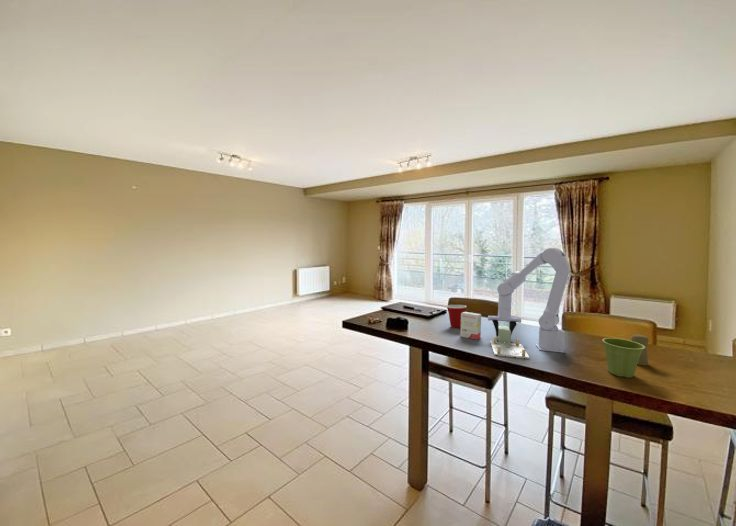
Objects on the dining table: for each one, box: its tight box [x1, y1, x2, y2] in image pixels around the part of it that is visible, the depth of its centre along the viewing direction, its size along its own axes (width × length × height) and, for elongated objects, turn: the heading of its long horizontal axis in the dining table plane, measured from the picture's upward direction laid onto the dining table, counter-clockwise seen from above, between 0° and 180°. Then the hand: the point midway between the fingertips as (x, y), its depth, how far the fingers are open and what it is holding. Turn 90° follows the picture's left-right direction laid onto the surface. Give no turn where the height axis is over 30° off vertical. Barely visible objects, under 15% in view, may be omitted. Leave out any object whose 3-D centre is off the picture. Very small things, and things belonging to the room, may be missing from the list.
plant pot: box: [601, 337, 645, 379], centre depth 112 cm, size 12×12×11 cm
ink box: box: [460, 311, 482, 341], centre depth 153 cm, size 9×5×12 cm, turn 50°
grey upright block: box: [630, 334, 650, 366], centre depth 123 cm, size 6×6×11 cm
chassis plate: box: [489, 336, 530, 360], centre depth 135 cm, size 13×17×3 cm
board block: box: [496, 324, 512, 343], centre depth 150 cm, size 5×10×6 cm, turn 164°
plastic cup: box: [446, 304, 467, 329], centre depth 171 cm, size 11×11×12 cm
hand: (503, 336), depth 150 cm, fingers closed on board block, 5 cm apart
